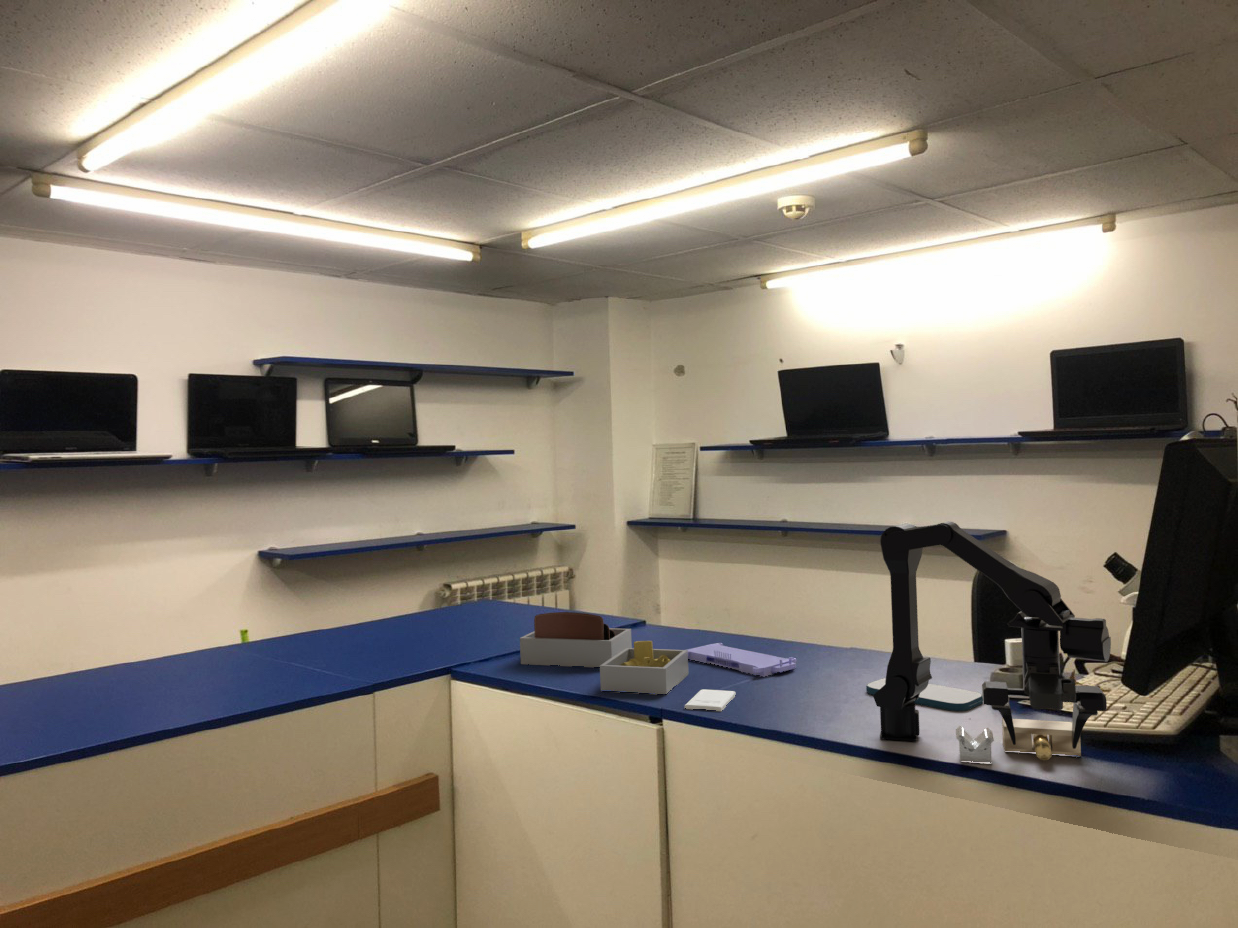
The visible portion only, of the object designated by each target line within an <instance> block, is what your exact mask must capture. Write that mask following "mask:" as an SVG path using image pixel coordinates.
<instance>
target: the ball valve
mask: <svg viewBox="0 0 1238 928" xmlns="http://www.w3.org/2000/svg"><path fill="white" fill-rule="evenodd" d="M653 646H654V645H653V641H652V640H637V641H633V648H634V658H633V659H630V660H629V661H628V662H624V663H622V664H620V666H641V667H664V666H665V665H666V664H668V663H669V662H670V661H671V660H670V659H668V657H667V656H665V655H662V656H660V657H659V659H653V649H654V647H653Z"/></svg>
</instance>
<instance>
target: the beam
mask: <svg viewBox="0 0 1238 928" xmlns="http://www.w3.org/2000/svg"><path fill="white" fill-rule="evenodd" d="M1012 720H1013V725H1014V731H1015V737H1016V745H1013V743H1012V740H1011V737H1010V734H1009V731H1008V729H1007V726H1006V723H1005V721H1004V719H1003V717H1002V718H1001V730H1002V732H1001V733H1002V745H1003V746H1004V747H1003V750H1005V751H1020V752H1036V751H1035V746H1034V741H1033V736H1032V734H1042V735H1047V736H1048V741H1049V745H1050V749H1051V753H1052V754H1065V755H1078V756H1081V757H1082V751H1081V750H1082V748H1081V737H1080V738H1079V741H1078V743H1077V746H1076V749H1073V747H1072V721H1060V720H1059V721H1057V720H1043V719H1042V720H1039V719H1027V718H1026V719H1025V718H1024V719H1023V718H1012ZM1005 751H1004V752H1005Z"/></svg>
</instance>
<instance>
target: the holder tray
mask: <svg viewBox="0 0 1238 928" xmlns="http://www.w3.org/2000/svg"><path fill="white" fill-rule="evenodd" d="M609 629H611V630H613V631H614V632H615V637H613V638H612V639H610V640H586V639H557V638H535V631H532V632H529V633H527V634H525V635H523V636H521V637H519V652H520V656H519V657H520V664H521V665H528V664H529V666H530V665H532V666H533V665H534V666H550V665H558V666H557V667H572V666H584V667H583V668H594V667H600V665H602V664H603V663H605V662H606V661H608V660H609V659H611V658H612V657H614V656H615V655H617V654H618V653H620V652H621V651H623V650H624V649H626V648H633V646H632V645H633V644H632V628H614V627H612V628H610V627H609ZM559 665H560V666H559Z"/></svg>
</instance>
